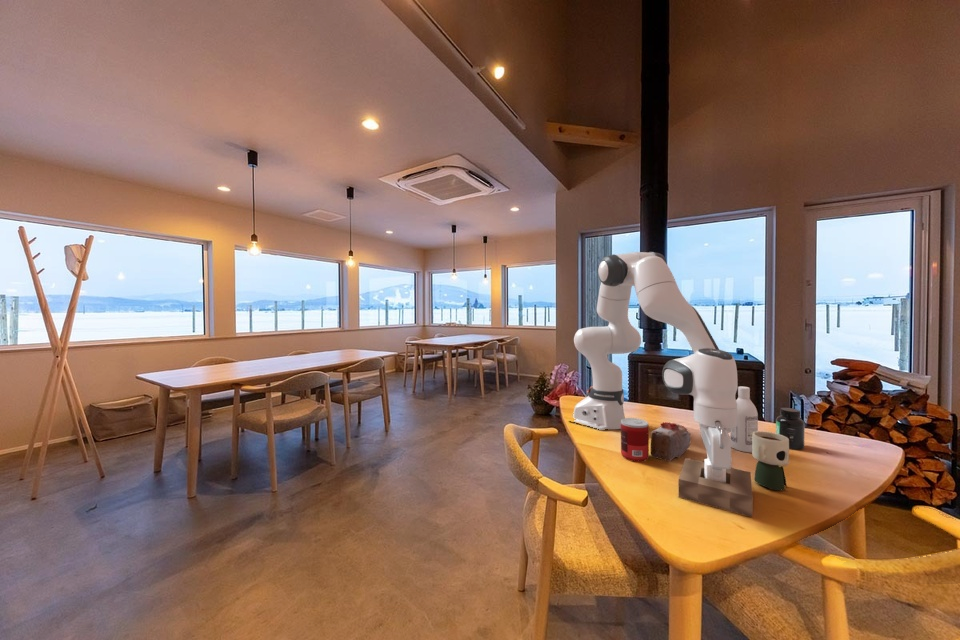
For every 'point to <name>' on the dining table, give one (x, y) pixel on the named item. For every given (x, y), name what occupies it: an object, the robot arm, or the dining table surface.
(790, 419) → the supplement bottle
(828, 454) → the dining table surface
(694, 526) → the dining table surface
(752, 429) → the bath foam
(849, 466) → the dining table surface
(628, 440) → the canned food
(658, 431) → the food item
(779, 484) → the character mug
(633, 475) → the dining table surface
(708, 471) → the pepper shaker
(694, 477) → the socket
